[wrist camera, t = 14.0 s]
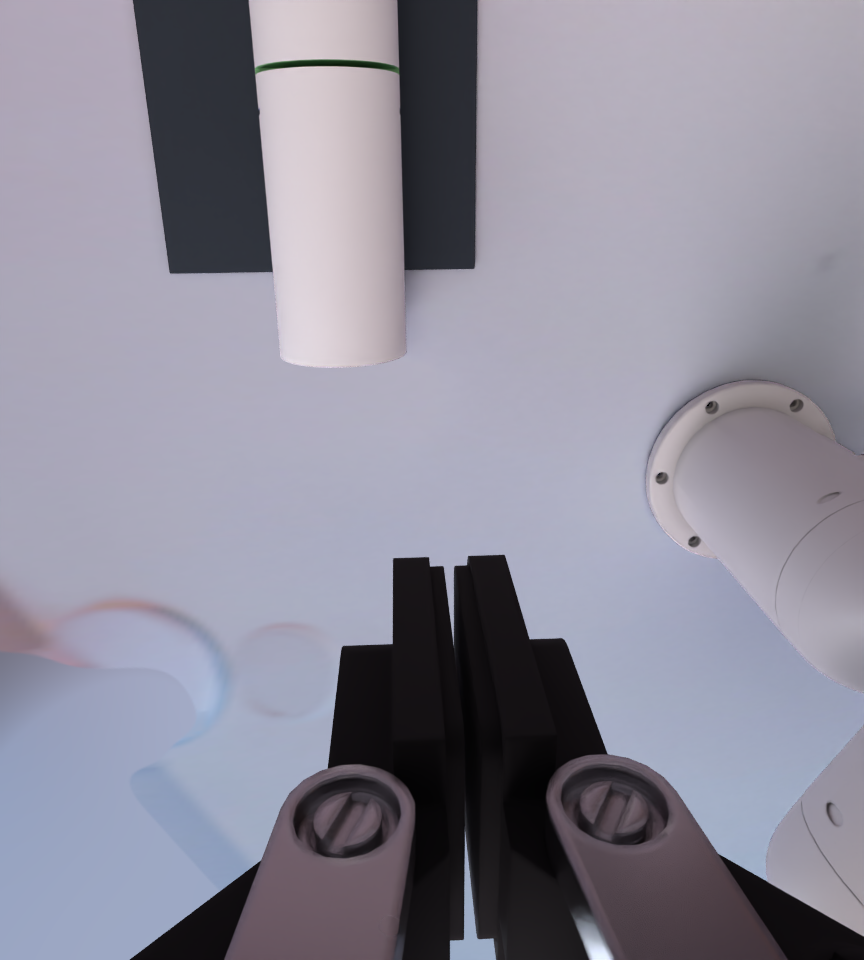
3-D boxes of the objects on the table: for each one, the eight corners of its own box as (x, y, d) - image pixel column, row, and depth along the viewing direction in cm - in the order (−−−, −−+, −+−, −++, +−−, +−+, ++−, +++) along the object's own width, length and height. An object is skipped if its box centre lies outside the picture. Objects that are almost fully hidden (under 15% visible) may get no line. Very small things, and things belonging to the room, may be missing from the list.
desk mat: (477, -142, 38) (478, -146, 38) (473, 267, 45) (474, 268, 45) (115, -144, 37) (112, -147, 37) (171, 272, 45) (169, 273, 44)
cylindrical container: (238, -171, 37) (283, 343, 46) (220, -248, 30) (277, 370, 39) (385, -165, 37) (400, 338, 47) (399, -238, 31) (413, 364, 40)
